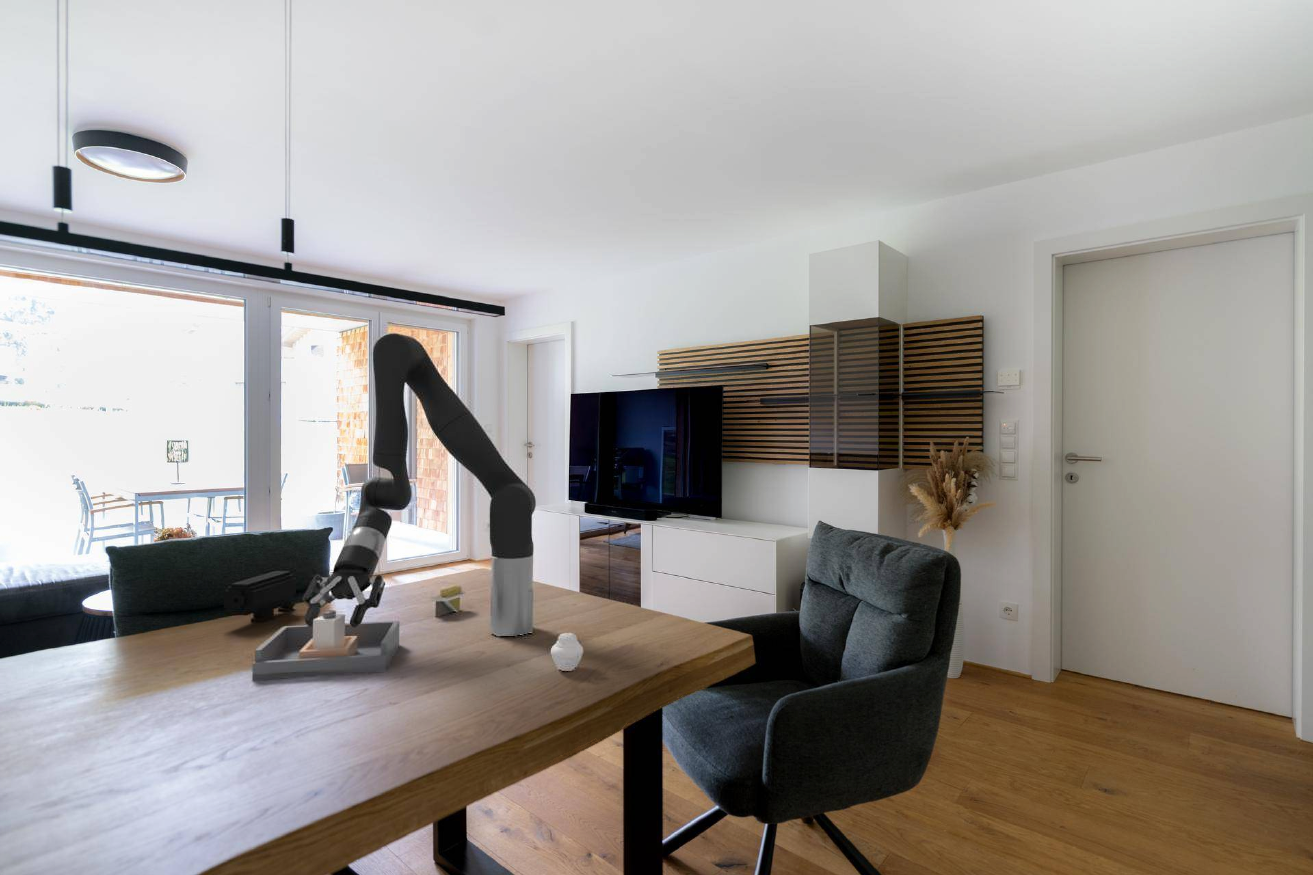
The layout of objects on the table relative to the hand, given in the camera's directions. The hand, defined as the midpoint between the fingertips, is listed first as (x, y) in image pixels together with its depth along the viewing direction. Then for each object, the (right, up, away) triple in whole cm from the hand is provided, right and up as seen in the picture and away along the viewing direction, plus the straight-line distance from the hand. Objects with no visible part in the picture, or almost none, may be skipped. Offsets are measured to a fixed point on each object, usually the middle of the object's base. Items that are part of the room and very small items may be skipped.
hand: (331, 624), depth 122 cm
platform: (+11, -9, +37) cm, 39 cm away
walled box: (-1, -8, +2) cm, 8 cm away
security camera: (-31, -7, +30) cm, 44 cm away
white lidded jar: (+45, -8, -1) cm, 46 cm away
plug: (0, -7, 0) cm, 7 cm away
